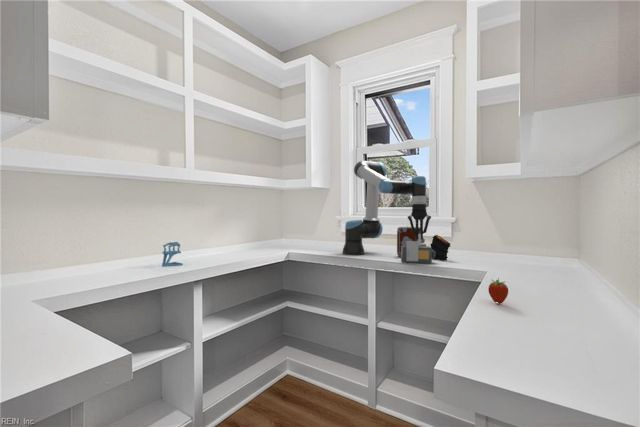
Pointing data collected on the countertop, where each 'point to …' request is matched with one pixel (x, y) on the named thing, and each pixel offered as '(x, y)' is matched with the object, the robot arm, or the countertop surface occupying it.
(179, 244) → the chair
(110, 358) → the countertop surface
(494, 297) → the fruit
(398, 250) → the brown box
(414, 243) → the side door
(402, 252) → the block
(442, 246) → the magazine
